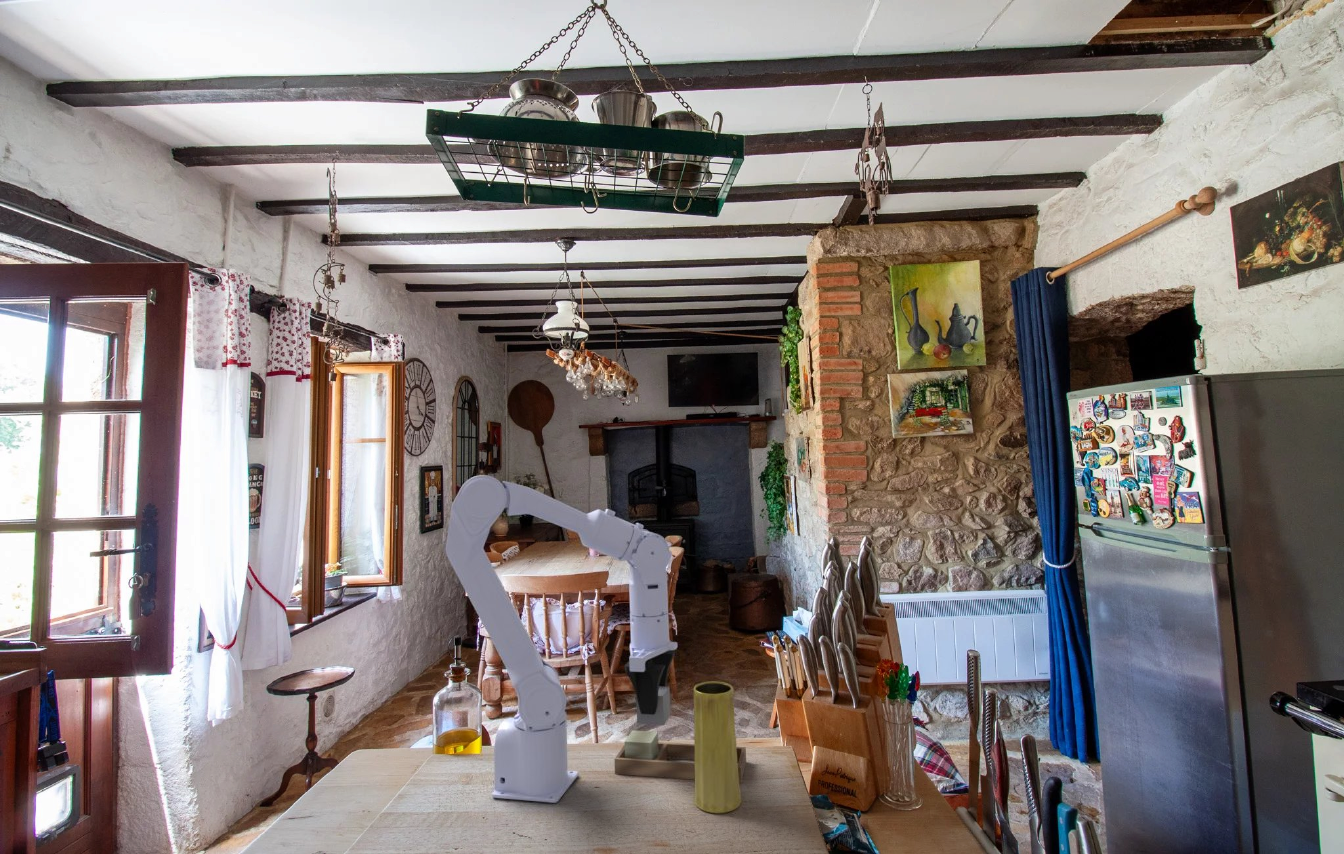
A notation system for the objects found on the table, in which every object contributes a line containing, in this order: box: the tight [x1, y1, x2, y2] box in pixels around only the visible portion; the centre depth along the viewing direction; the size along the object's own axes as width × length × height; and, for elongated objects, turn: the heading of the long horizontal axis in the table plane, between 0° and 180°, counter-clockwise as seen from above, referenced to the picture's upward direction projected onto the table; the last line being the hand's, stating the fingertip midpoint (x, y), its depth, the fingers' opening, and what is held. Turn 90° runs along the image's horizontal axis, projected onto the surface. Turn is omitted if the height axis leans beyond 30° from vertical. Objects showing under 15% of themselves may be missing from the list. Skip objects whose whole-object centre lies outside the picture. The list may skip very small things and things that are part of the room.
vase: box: [692, 680, 742, 814], centre depth 79 cm, size 6×6×14 cm
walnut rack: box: [614, 729, 747, 784], centre depth 88 cm, size 18×6×4 cm, turn 77°
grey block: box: [635, 686, 671, 726], centre depth 89 cm, size 4×4×4 cm
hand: (652, 707), depth 89 cm, fingers closed on grey block, 4 cm apart
